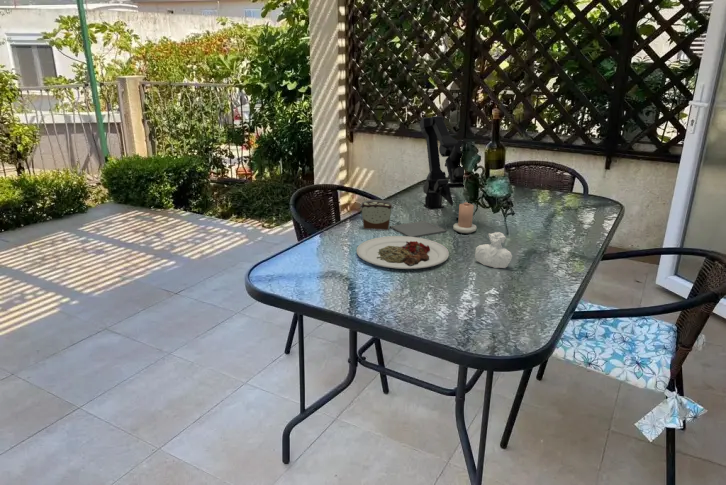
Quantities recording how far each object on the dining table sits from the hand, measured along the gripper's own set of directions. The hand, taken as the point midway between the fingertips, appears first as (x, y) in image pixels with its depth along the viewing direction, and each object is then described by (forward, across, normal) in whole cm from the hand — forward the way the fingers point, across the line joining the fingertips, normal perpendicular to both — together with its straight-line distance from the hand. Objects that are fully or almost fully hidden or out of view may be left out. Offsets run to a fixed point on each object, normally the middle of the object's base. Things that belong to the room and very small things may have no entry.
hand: (464, 204), depth 197 cm
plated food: (+23, -30, -9) cm, 39 cm away
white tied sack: (+32, -4, -18) cm, 37 cm away
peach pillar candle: (+7, 0, +4) cm, 8 cm away
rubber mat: (+5, -17, +8) cm, 20 cm away
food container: (+1, -31, +13) cm, 34 cm away
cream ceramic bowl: (+8, 0, +5) cm, 10 cm away
